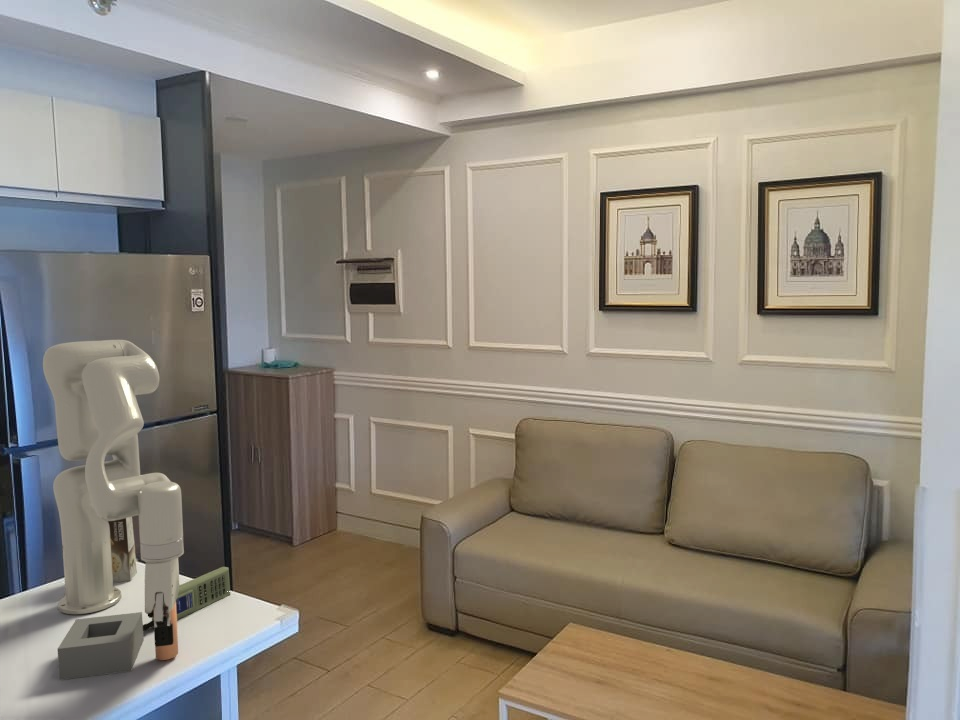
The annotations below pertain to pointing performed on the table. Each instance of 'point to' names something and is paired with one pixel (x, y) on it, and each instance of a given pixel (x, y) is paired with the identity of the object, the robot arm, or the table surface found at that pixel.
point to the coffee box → (122, 549)
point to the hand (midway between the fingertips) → (166, 638)
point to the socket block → (100, 646)
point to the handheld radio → (199, 593)
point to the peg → (172, 650)
